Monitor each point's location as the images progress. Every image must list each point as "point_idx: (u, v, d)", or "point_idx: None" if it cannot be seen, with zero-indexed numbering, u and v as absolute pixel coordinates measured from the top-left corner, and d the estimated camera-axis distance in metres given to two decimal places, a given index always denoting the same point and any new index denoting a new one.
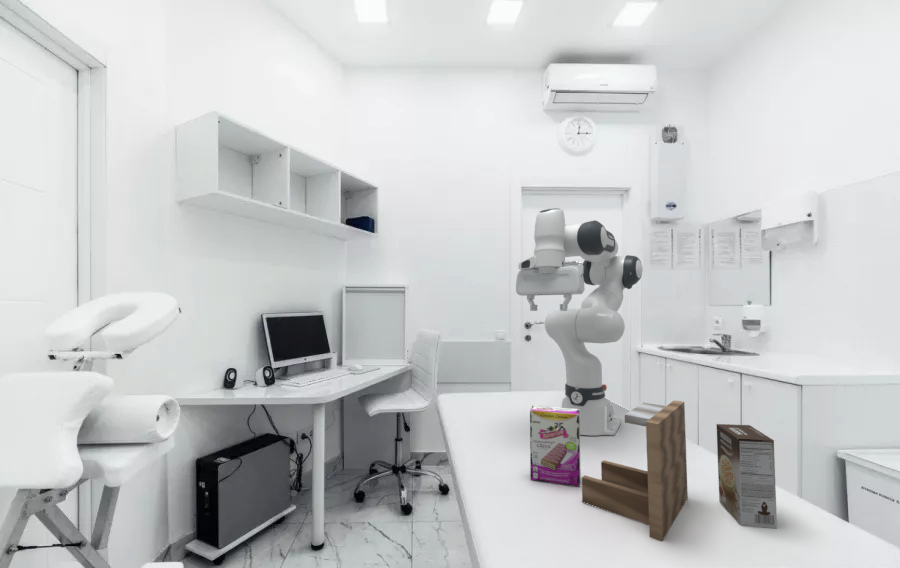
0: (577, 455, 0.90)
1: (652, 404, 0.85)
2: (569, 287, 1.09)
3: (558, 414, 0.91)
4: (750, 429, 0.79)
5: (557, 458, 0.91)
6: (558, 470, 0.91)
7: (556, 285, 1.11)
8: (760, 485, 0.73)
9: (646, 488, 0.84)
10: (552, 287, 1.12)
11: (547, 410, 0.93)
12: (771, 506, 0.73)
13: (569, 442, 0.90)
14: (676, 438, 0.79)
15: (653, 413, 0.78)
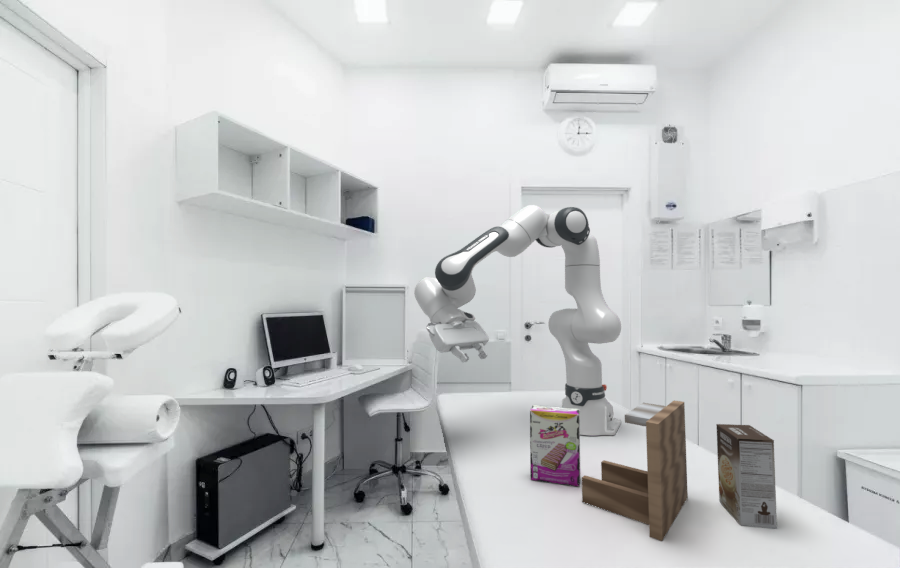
0: (577, 455, 0.90)
1: (652, 404, 0.85)
2: None
3: (558, 414, 0.91)
4: (750, 429, 0.79)
5: (557, 458, 0.91)
6: (558, 470, 0.91)
7: None
8: (760, 485, 0.73)
9: (646, 488, 0.84)
10: None
11: (547, 410, 0.93)
12: (771, 506, 0.73)
13: (569, 442, 0.90)
14: (676, 438, 0.79)
15: (653, 413, 0.78)
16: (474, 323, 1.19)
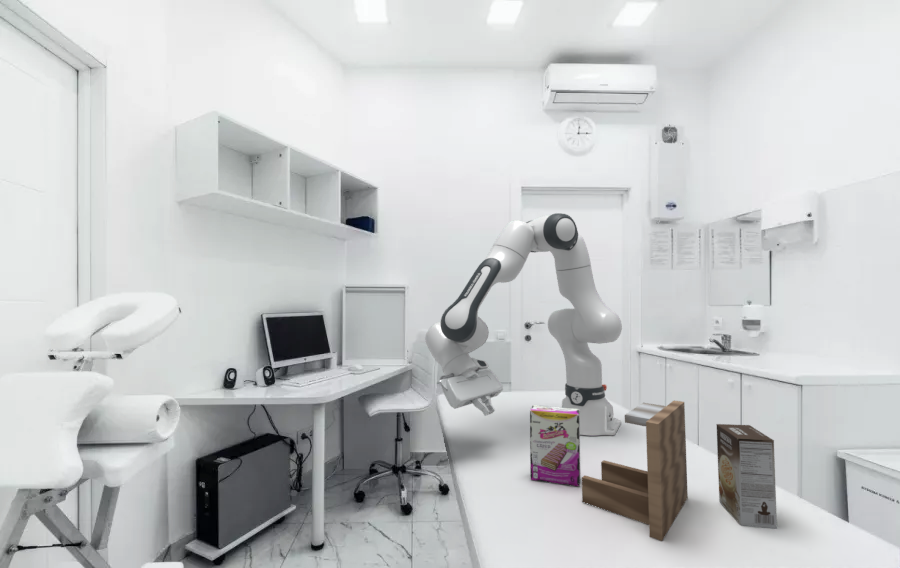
0: (577, 455, 0.90)
1: (652, 404, 0.85)
2: None
3: (558, 413, 0.91)
4: (750, 429, 0.79)
5: (557, 458, 0.91)
6: (558, 470, 0.91)
7: None
8: (760, 485, 0.73)
9: (646, 488, 0.84)
10: None
11: (547, 410, 0.93)
12: (771, 506, 0.73)
13: (569, 442, 0.90)
14: (676, 438, 0.79)
15: (653, 413, 0.78)
16: (487, 371, 1.16)
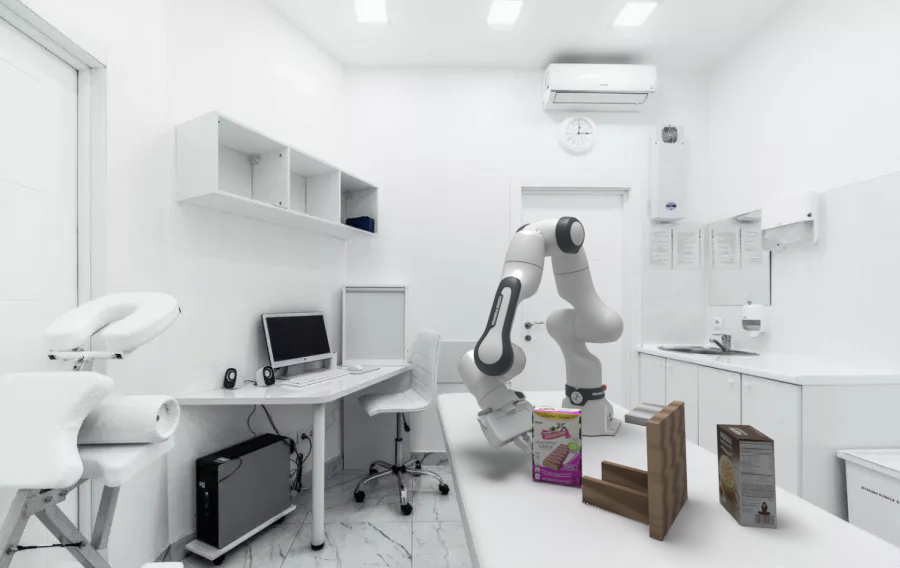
0: (579, 455, 0.89)
1: (652, 404, 0.85)
2: None
3: (560, 414, 0.91)
4: (750, 429, 0.79)
5: (559, 459, 0.91)
6: (560, 471, 0.90)
7: None
8: (760, 485, 0.73)
9: (646, 488, 0.84)
10: None
11: (549, 410, 0.92)
12: (771, 506, 0.73)
13: (572, 442, 0.90)
14: (676, 438, 0.79)
15: (653, 413, 0.78)
16: (526, 403, 1.07)
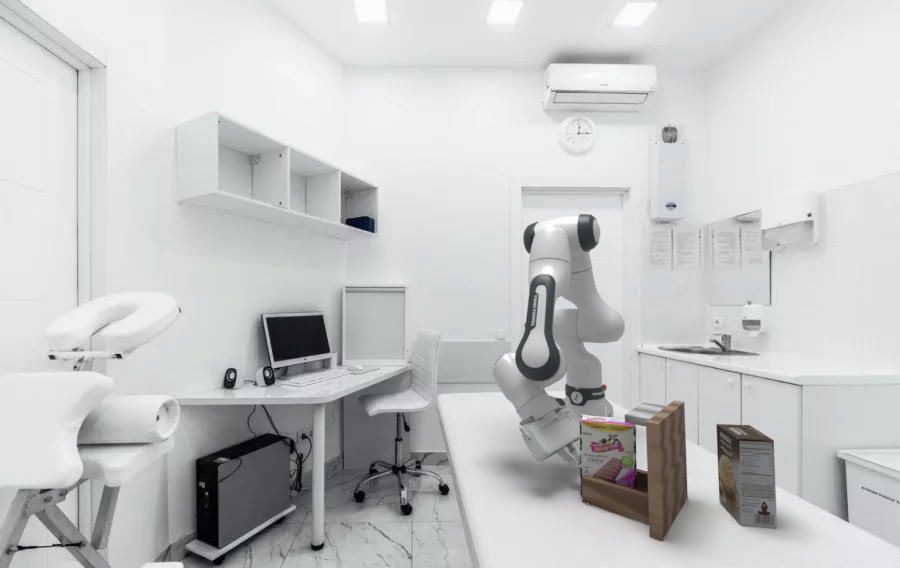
0: (634, 471, 0.81)
1: (652, 404, 0.85)
2: None
3: (612, 425, 0.83)
4: (750, 429, 0.79)
5: (611, 474, 0.82)
6: None
7: None
8: (760, 485, 0.73)
9: (646, 488, 0.84)
10: None
11: (599, 421, 0.84)
12: (771, 506, 0.73)
13: (625, 456, 0.81)
14: (676, 438, 0.79)
15: (653, 413, 0.78)
16: (567, 411, 0.99)
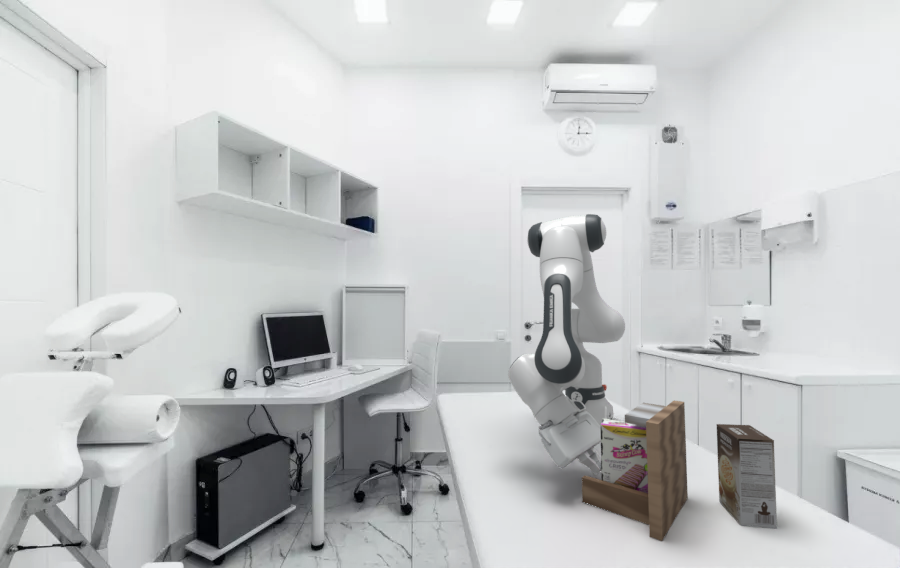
0: None
1: (652, 404, 0.85)
2: None
3: (635, 430, 0.79)
4: (750, 429, 0.79)
5: (634, 481, 0.79)
6: None
7: None
8: (760, 485, 0.73)
9: None
10: None
11: (621, 425, 0.81)
12: (771, 506, 0.73)
13: None
14: (676, 438, 0.79)
15: (653, 413, 0.78)
16: (586, 415, 0.96)
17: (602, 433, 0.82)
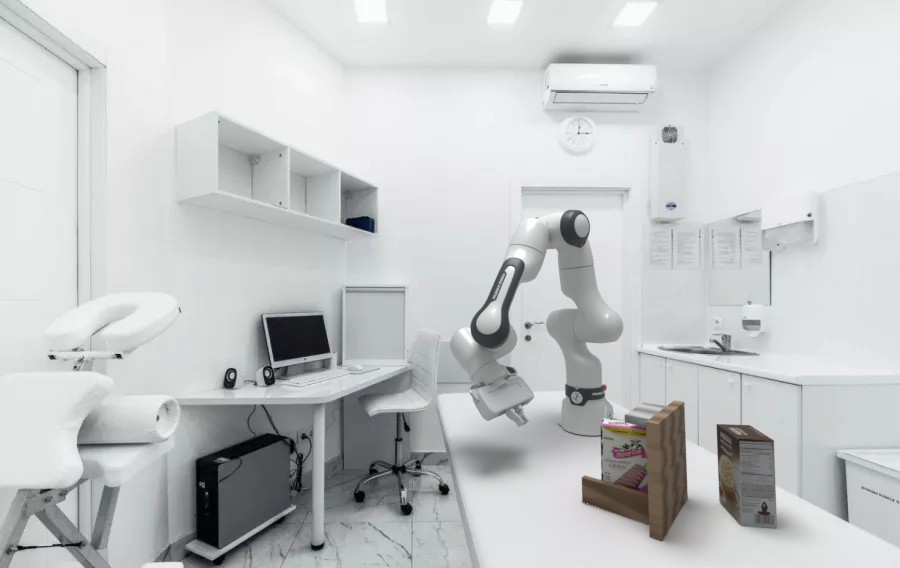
0: None
1: (652, 404, 0.85)
2: None
3: (635, 430, 0.79)
4: (750, 429, 0.79)
5: (634, 481, 0.79)
6: None
7: None
8: (760, 485, 0.73)
9: None
10: None
11: (621, 425, 0.81)
12: (771, 506, 0.73)
13: None
14: (676, 438, 0.79)
15: (653, 413, 0.78)
16: (517, 378, 1.09)
17: (602, 433, 0.82)
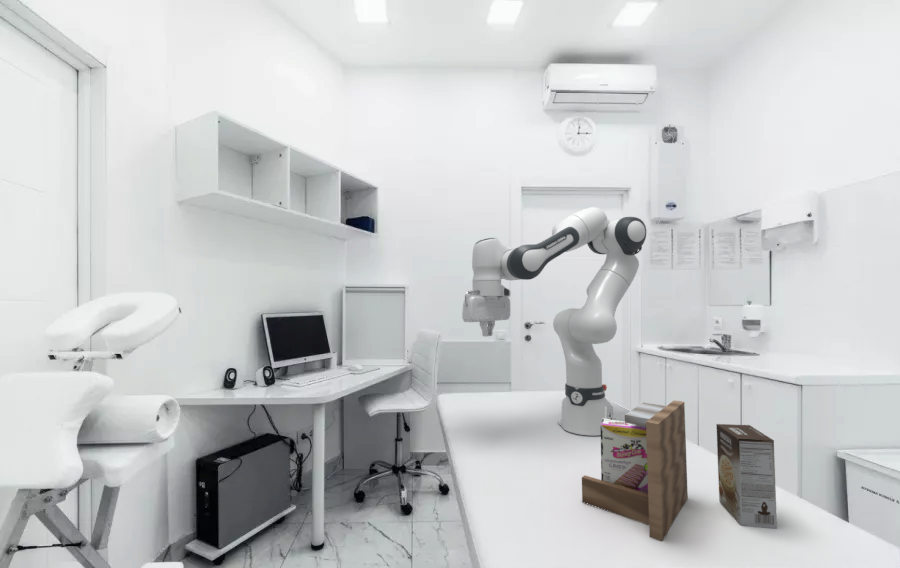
0: None
1: (652, 404, 0.85)
2: None
3: (635, 430, 0.79)
4: (750, 429, 0.79)
5: (634, 481, 0.79)
6: None
7: None
8: (760, 485, 0.73)
9: None
10: None
11: (621, 425, 0.81)
12: (771, 506, 0.73)
13: None
14: (676, 438, 0.79)
15: (653, 413, 0.78)
16: (506, 300, 1.26)
17: (602, 433, 0.82)
